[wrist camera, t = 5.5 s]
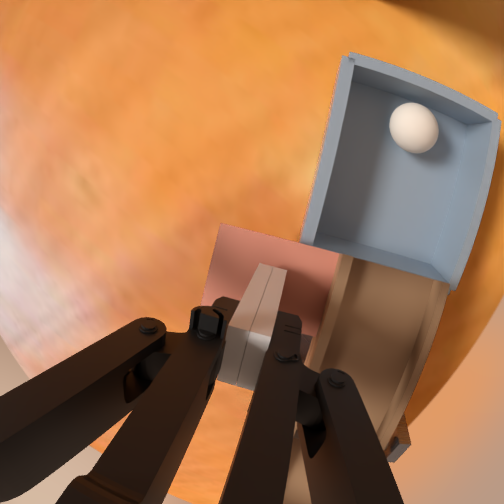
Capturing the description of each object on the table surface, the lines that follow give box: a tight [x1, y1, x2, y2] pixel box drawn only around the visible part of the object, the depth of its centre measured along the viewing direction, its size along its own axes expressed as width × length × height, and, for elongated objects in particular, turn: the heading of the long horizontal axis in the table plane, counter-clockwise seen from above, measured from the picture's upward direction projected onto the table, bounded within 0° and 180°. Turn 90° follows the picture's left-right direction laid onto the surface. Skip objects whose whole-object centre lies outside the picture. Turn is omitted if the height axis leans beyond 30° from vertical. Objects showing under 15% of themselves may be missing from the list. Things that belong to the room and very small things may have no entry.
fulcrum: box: [300, 333, 411, 462], centre depth 23 cm, size 16×12×10 cm
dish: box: [299, 52, 501, 295], centre depth 18 cm, size 13×12×4 cm
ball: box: [389, 103, 439, 153], centre depth 17 cm, size 4×4×4 cm
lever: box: [201, 223, 450, 504], centre depth 17 cm, size 24×15×3 cm, turn 168°
